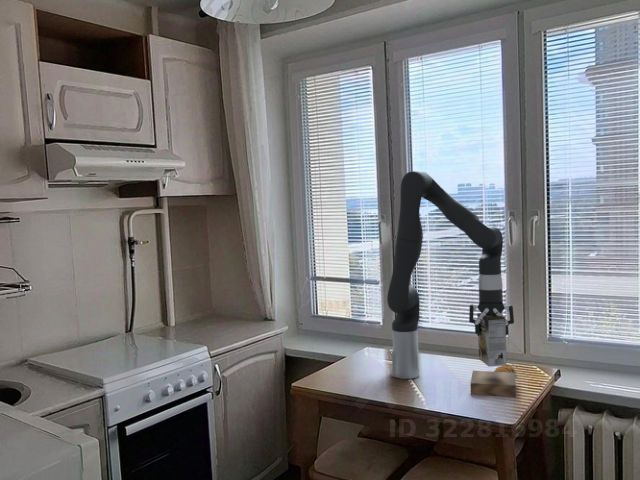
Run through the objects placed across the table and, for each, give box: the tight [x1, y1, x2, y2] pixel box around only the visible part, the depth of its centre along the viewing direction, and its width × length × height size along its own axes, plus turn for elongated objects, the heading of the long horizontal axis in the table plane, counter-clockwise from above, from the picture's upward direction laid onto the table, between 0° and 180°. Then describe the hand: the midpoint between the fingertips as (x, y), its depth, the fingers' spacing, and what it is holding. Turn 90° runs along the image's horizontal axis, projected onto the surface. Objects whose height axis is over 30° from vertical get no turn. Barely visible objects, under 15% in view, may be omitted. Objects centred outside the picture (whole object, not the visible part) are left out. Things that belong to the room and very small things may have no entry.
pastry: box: [493, 363, 517, 376], centre depth 200 cm, size 9×7×4 cm
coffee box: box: [477, 312, 508, 368], centre depth 186 cm, size 9×6×16 cm
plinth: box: [470, 370, 517, 399], centre depth 187 cm, size 14×14×4 cm
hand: (491, 335), depth 186 cm, fingers closed on coffee box, 8 cm apart
